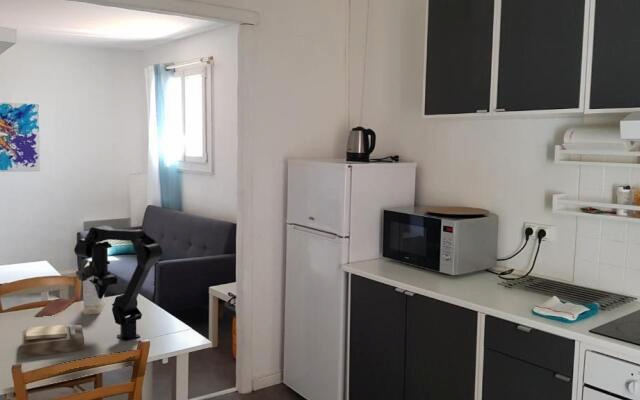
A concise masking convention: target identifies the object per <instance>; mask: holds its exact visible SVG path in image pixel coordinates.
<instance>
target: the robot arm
mask: <svg viewBox="0 0 640 400" xmlns="http://www.w3.org/2000/svg"><path fill="white" fill-rule="evenodd" d="M109 241H128V242H129V241H130V242H131V243H132V248H133V251H134V252H135V253H136V262H137V265H136V266H135V269H134V272H133V273H132V276H131V277H130V280H129V283H128V284H127V286H126V289H125V291H124V293H123V294H121V295H118V296H116V297H115V298H114V300H113V303H112V304H111V306H112V308H111V311H112V315H113V318H114V322H115V324H117V325H119V326H120V327H119V328H120V329H119V330H120V334H116V337H117V338H118V339H120V340H121V341H123V342H124V341H129V340H133V339H138V338H141V335H139V334H138V333H137V321H138V320H141V319H142V316H143V313H142V312H141V311H140V309H139V308H138V299H137V298H138V295H139V294H140V292H141V289H142V287H143V285H144V283H145V281H146V279H147V277H148V274H149V272H150V271H151V269H152V267H154V266H155V264H158V262H159V260H160V259H161V258H162V256H163V251H164V250H163V248H162V247H161V245H160V244H159V243H158V242H157V241H156V239H154V238H153V237H151V236H149V235H148V234H147V233H146V231H144V230H143V229H122V228H121V229H120V228H119V229H118V228H117V229H116V228H113V227H112V226H109V225H99V226H91V227H90V228H89V230H88V233H87V234H86V237H85V238H79V239H78V242H77V243H76V244H75V246H74V249H73V251H74V255H76V256H78V257H84V258H91V260H89V261H88V262H89V266H87V267H85V266H84V267H82V268H80V269H79V270H77V271H75V274H76V276H77V279H78V280H79V281H81V282H83V281H85V280H87V279H88V278H90V277H91V280H89V281H90V282H91V283H93V284H94V286H95V289H96V292H97V295H98V298H99V299H102V297H103V295H104V296H105V293H106V291H107V289H108V287H109V286H110V285H117V284H118V283H119V278H118V277H117V276H116V275H113V274H111V272H110V271H109V265H110V263H111V261H110V260H109V259H108V258H109V256H108V249H110V248H112V247H113V245H112V244H111V243H110V242H109ZM141 243H143V244H144V245H142V244H141Z"/></svg>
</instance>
